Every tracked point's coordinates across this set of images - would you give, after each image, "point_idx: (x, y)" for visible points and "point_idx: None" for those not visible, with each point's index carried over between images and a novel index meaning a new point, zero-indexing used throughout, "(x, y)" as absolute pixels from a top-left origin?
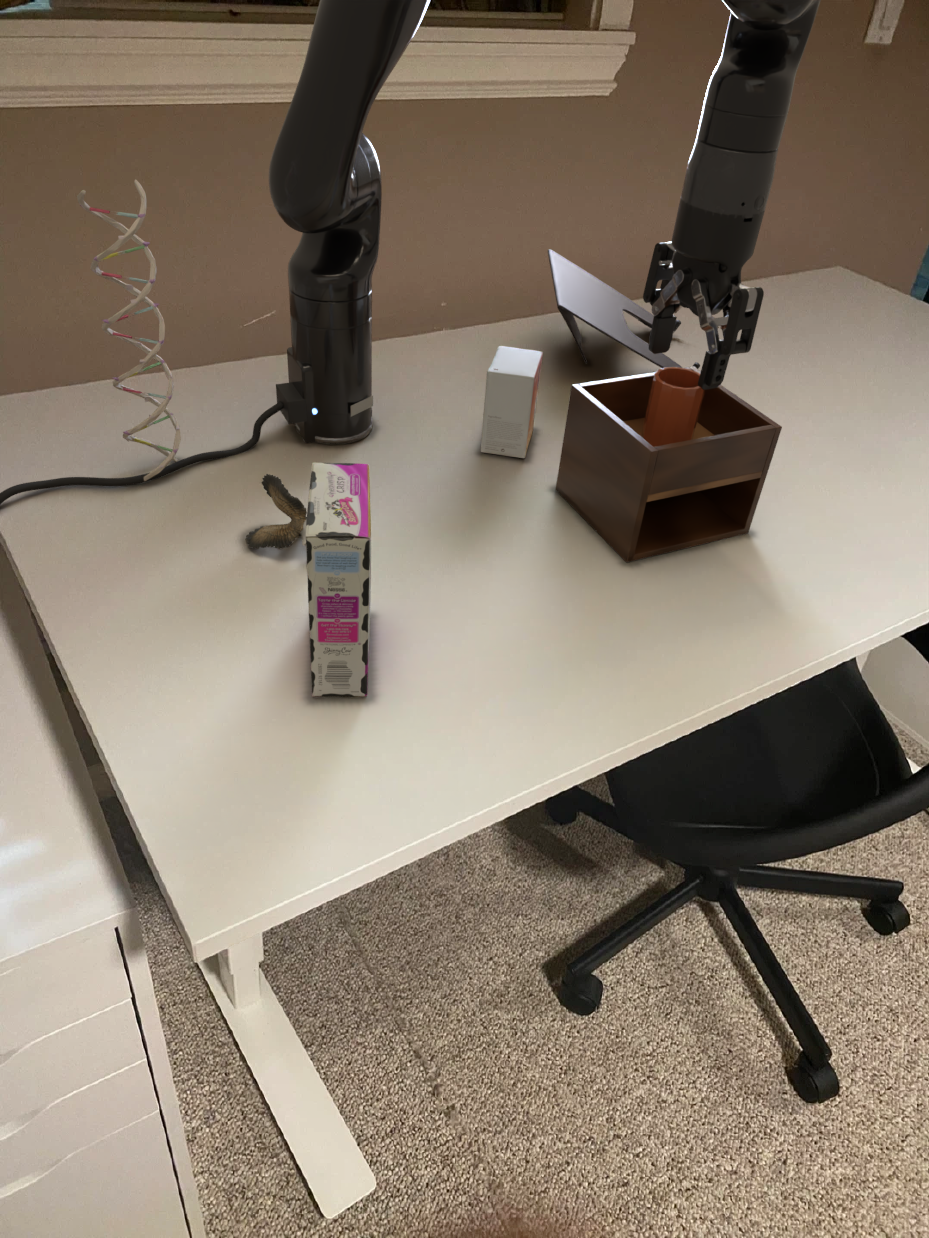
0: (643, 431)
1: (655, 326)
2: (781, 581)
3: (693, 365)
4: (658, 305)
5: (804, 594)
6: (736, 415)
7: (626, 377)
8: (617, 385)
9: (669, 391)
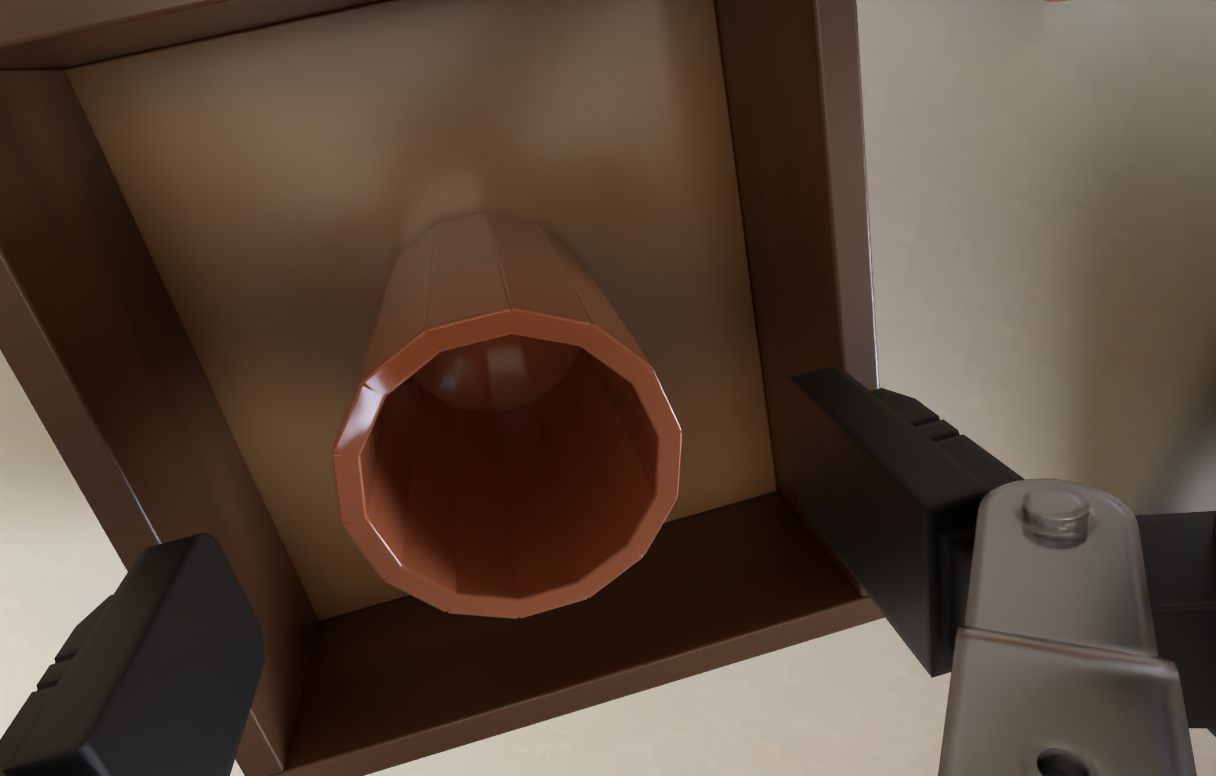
0: (513, 228)
1: (910, 458)
2: (80, 511)
3: None
4: (1060, 567)
5: (16, 549)
6: (503, 659)
7: (857, 243)
8: (814, 172)
9: (380, 355)
